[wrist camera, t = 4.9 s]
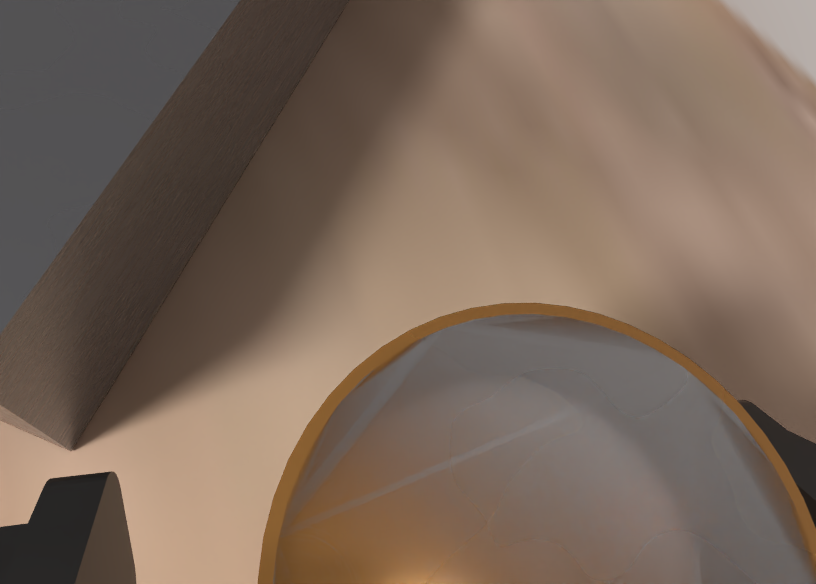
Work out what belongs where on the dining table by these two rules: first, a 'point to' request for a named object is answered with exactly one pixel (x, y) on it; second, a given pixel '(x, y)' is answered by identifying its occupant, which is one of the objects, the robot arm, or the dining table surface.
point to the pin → (534, 465)
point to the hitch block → (121, 172)
